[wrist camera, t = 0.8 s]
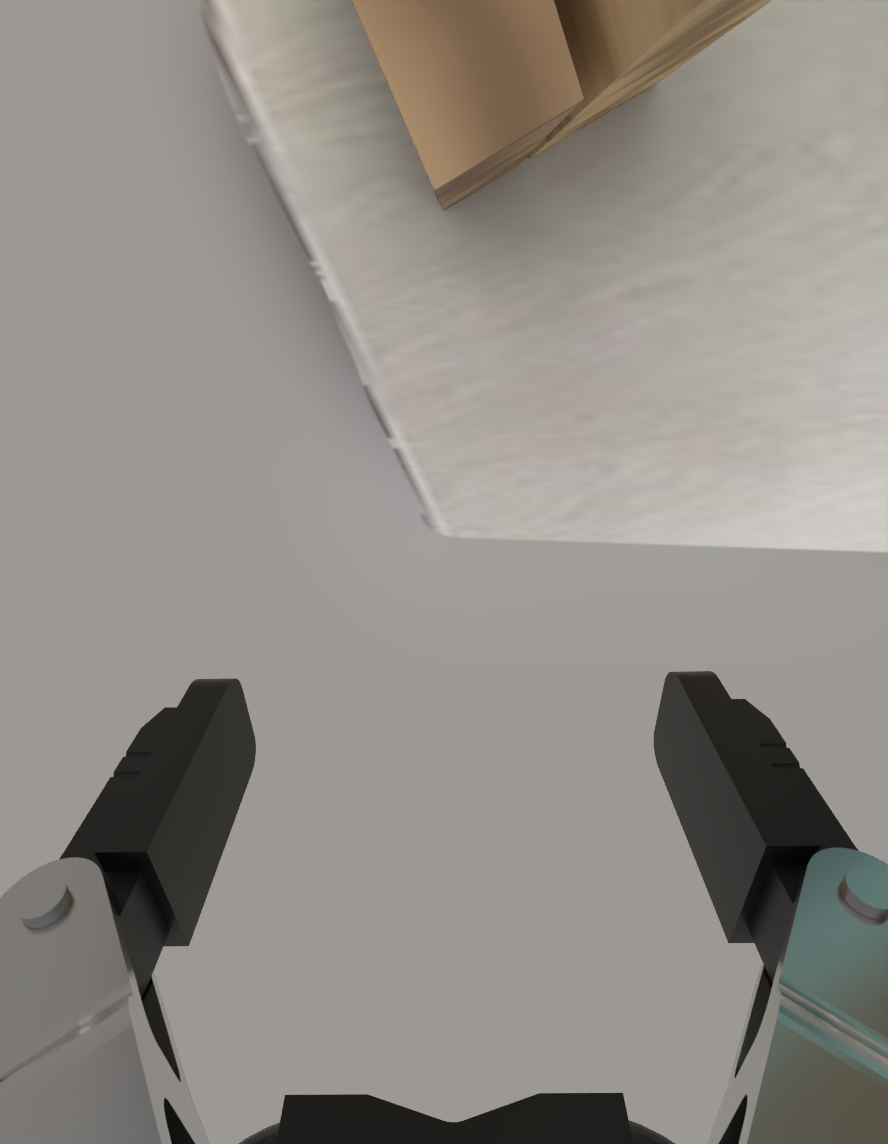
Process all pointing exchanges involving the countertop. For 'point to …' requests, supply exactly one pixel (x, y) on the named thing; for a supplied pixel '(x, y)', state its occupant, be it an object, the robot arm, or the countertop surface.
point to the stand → (634, 47)
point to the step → (473, 82)
